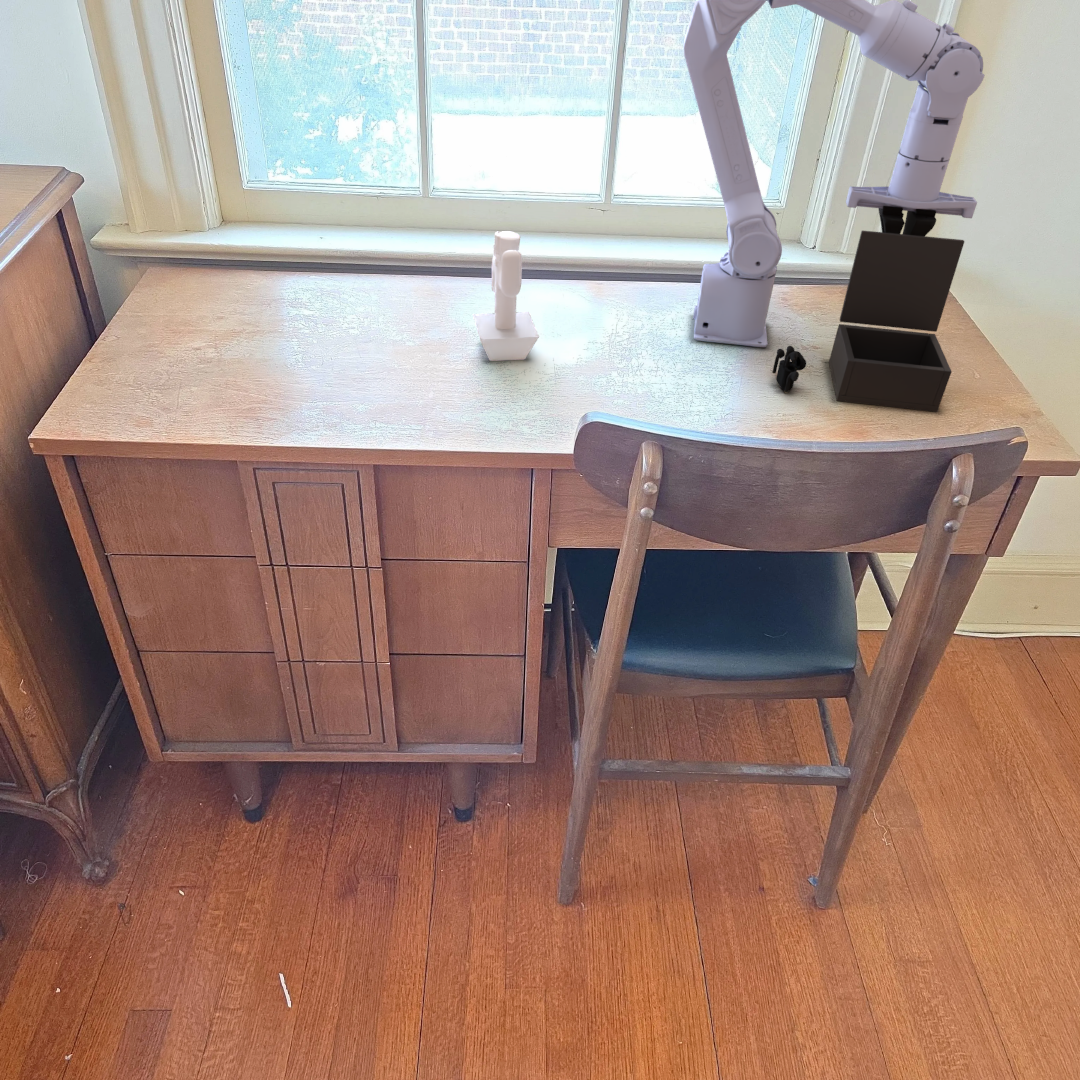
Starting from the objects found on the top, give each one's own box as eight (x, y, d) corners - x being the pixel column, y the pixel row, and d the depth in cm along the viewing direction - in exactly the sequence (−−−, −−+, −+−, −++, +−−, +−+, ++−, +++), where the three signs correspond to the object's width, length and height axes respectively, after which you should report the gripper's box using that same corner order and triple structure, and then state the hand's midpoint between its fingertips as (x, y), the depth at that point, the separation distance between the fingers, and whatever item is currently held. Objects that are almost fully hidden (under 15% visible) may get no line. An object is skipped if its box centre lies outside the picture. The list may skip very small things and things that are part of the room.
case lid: (964, 241, 103) (963, 239, 104) (862, 231, 104) (861, 230, 105) (936, 331, 109) (935, 330, 110) (839, 321, 110) (839, 320, 111)
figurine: (526, 334, 117) (530, 219, 107) (539, 368, 109) (545, 247, 100) (471, 337, 115) (470, 220, 106) (480, 371, 108) (481, 249, 99)
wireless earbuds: (768, 373, 111) (777, 336, 108) (788, 373, 111) (797, 336, 108) (785, 401, 105) (795, 363, 102) (806, 401, 106) (816, 363, 103)
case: (937, 412, 105) (951, 371, 102) (836, 401, 106) (848, 360, 103) (922, 372, 113) (935, 333, 110) (828, 362, 114) (838, 323, 111)
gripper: (980, 151, 106) (944, 263, 114) (856, 140, 107) (828, 252, 116) (995, 168, 101) (955, 284, 109) (863, 156, 102) (834, 272, 110)
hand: (890, 269), depth 112 cm, fingers closed
